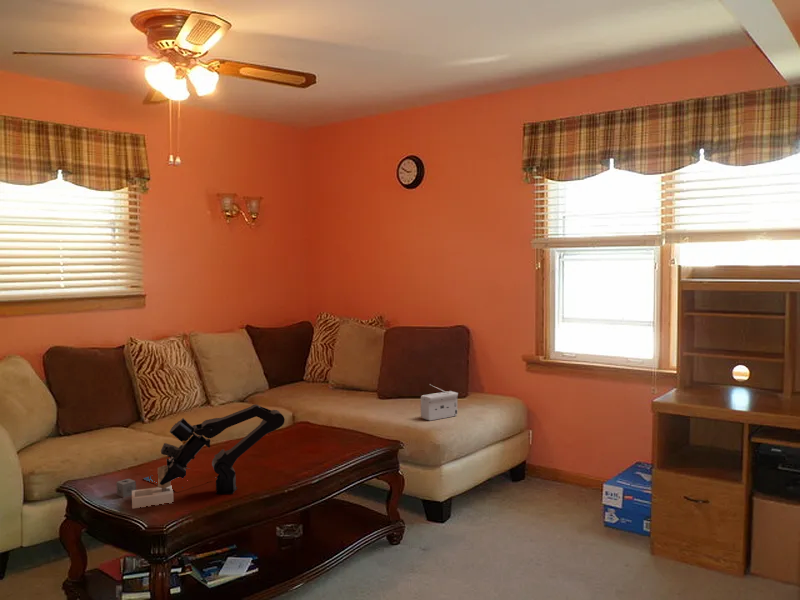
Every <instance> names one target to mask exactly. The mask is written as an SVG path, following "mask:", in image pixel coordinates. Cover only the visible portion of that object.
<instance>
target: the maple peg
mask: <svg viewBox="0 0 800 600" xmlns="http://www.w3.org/2000/svg"><path fill="white" fill-rule="evenodd" d="M167 471H168V466H167V465H162V466H159V467H157V474H158V485H157V487H159V488H162V492H166V488H167V487H169V486H171V481H170V482H167V483H165V484H163V485H161V484H160V482H161V480H162V479H163V477H164V476H165V474H166V473H167Z"/></svg>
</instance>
